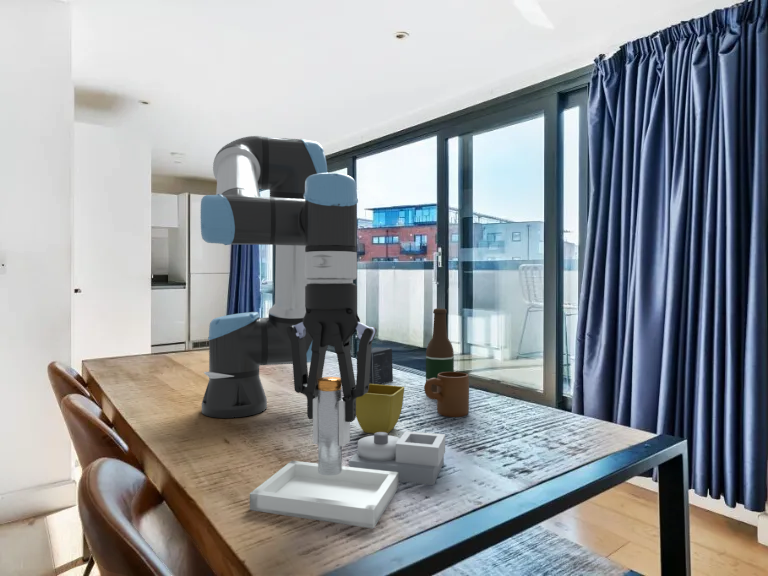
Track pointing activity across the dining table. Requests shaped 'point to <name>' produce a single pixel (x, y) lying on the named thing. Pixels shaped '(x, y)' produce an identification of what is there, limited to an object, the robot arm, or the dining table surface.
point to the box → (380, 365)
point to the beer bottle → (439, 349)
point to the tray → (327, 494)
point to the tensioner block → (403, 455)
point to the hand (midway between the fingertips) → (331, 441)
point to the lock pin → (329, 426)
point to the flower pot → (379, 408)
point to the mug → (450, 393)
